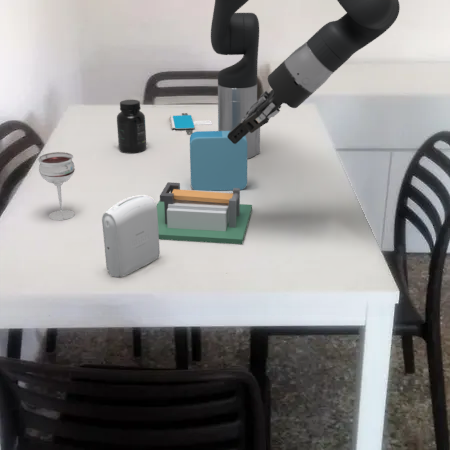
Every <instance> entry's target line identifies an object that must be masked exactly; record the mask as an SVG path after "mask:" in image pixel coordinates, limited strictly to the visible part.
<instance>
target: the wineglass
mask: <svg viewBox="0 0 450 450" xmlns="http://www.w3.org/2000/svg"><path fill="white" fill-rule="evenodd" d="M73 158H74V155H73V154H71V153H69V152H65V151H54V152H49V153H45V154H41V155H40V156H38V158H37V161H38V162H39V164H38V171H39V172H38V173H39V175H40V177H41V178H42V179H43V180H45V181H46V182H47V183H49V184H52V185H54V186H56V191H57V197H58V204H59V210H56V211H53V212H51V213H49V215H48V217H49V219H51V220H54V221H64V220H69V219H71V218H73V217H74V216H75V215H76V214H75V212H74V211H72V210H69V209H63V199H62V185H63V184H64V183H66V182H68V181H69V180H70V179H71V178H72V177H73V175H74V174H75V170H76V168H75V164H74V161H73Z"/></svg>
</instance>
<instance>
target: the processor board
mask: <svg viewBox="0 0 450 450" xmlns="http://www.w3.org/2000/svg"><path fill="white" fill-rule="evenodd" d="M174 189H179V190H181V183H180V182H167V183H166V185H165V186H164V187H163V189H162V191H161V193H160V194H159V201H158V202H157V203H156V206H157V216H158V232H159V240H164V241H179V242H195V243H210V244H211V243H215V244H229V245H230V244H231V245H232V244H233V245H243V243H244V241H245V237H246V233H247V230H248V226H249V221H250V218H251V215H252V212H253V204H248V203H247V204H244V203H241V190H240V188H233V190H232V191H205V192H219V193H232V194H234V193H237V194H238V195H239V197H238V200H237V203H236V199H234V198H230V199H229V203H216V202H204V201H191V200H178V199H174V193H172V192H173V190H174ZM191 190H192V191H200V190H194V189H191Z"/></svg>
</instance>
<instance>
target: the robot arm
mask: <svg viewBox="0 0 450 450" xmlns="http://www.w3.org/2000/svg"><path fill="white" fill-rule="evenodd" d="M249 1H250V0H215V1H214V5H213V6H214V8H213V12H212V18H211V19H212V20H211V26H210V43H211V47H212V50H213V51H214V52H215V53H216V54H218V55H221V56H239V55H240V56H241V55H242V57H241V59H239V60H238V61H237V62H236V63H234V64H232V65H230V66H228V67H225V68H222V69H221V70H220V71H219V72H218V74H217V103H218V104H217V117H218V118H217V121H218V122H217V125H218V129H217V131H230V132H229V134H228V136H227V137H228V139H229V140H230V141H231V142H232V143H234V144H236V143H237V142H239V141H240V140H241V139H242V138H243V137H244V136H245V135H246V139H247V159H250V158H253V157H255V156H256V155H260V154H261V127H263V126H264V125H266V124H268V123H269V120H270V119H271V118H274V117H275V116H277V115H278V114H279V113H280V112H281V110H280V109H282V104H285V105H287V106H288V107H289V108H292V109H297V108H298V107H299V106H300V105H302V104H303V103H304V102H306V100H307V99H309V97H310V96H312V95H313V94H314V93H315V92H316V91H317V90H318V89H320V88H321V86H323V85H324V84H325V83H326V82H327V81H328V79H329V78H330V77H331V76H332V75H333V74H334V73H335V72H336V71H337V70H338V69H340V67H342V66H343V65H344V64H345V63H346V62H347V61H348V60H349V59H350V58H351V57H352V56H353V55H354V54H355V53H357V52H358V51H359V50H361V49H363V48H364V47H366V46H368V44H370V43H372V42H373V41H374V40H377V39H378V38H379V37H380V36H381V35H384V33H386V32H387V31H388V30H389V29H390V28H391V26H392V25H394V23H395V22H396V21H397V19H398V16H399V15H400V10H401V9H400V8H401V7H400V1H399V0H336V1H337V2H338V3H339V5H340V6H341V7H342V9H344V11H345V12H346V13H345V14H344V15H343V16H342V17H340V18H338V19H336V20H333V21H332V20H331V21H329V22H327V23H326V24H324V25H323V26H321V28H320V29H318V30H317V31H316V32H315V33H313V35H312V36H311V37H310V38H309V39H307V41H305V42H304V44H301V46H299V47H297V48H296V49H295V50H294V51H293V52H291V54H290V55H289V56H287V58H285V59H284V60H283V61H282V62H281V63H280V64H279V65H278V66H277V67H276V68H275V69H274V70H273V71H272V72H270V73H269V74H268V76H267V82H268V86H270V88H271V90H270V91H267V90H265V91H264V92H262V94H261V95H260V96H259V98H258V60H259V58H258V57H259V46H260V45H259V43H260V21H259V17H258V16H257V14H255V12H237V11H238V10H239V9H240V8H242V7H243V6H244V5H245V4H247V3H248V2H249Z"/></svg>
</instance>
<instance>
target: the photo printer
mask: <svg viewBox="0 0 450 450" xmlns="http://www.w3.org/2000/svg"><path fill="white" fill-rule="evenodd" d="M101 223H102V225H101V226H102V231H103V233H102V235H103V243H104V254H105V255H104V256H105V263H106V264H105V265H106V266H105V267H106V270H107V271H108V273H109V275H110V276H112V277H115V278H120V277H125V276H127V275H129V274H131V273H133V272H135V271H137V270H139V269H140V268H143V267H144V266H146V265H148V264H150V263H152V262H154V261H155V260H157V259H159V258H160V253H161V252H160V251H161V250H160V239H159V232H158V216H157V203H156V201H155V199H154V198H153V197H152V196H149V195H147V194H137V195H133V196H132V195H131V196H129V197H125V198H124V199H121V200H119V201H118V202H116V203H114V204H113V205H112V206H111V207H110V208H108V209H107V210H106V211H105V212H104V213H103V215H102V217H101Z"/></svg>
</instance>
